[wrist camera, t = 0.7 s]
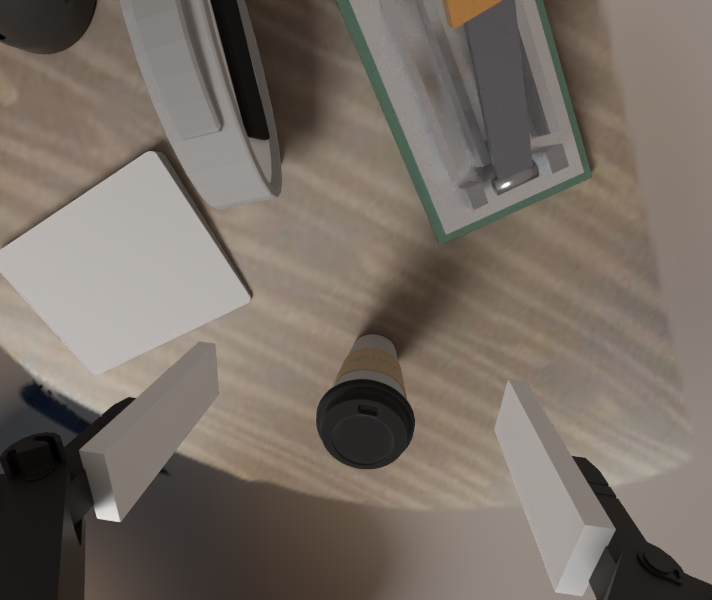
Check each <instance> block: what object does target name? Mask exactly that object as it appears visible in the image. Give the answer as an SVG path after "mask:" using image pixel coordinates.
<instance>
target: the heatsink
mask: <svg viewBox="0 0 712 600" xmlns="http://www.w3.org/2000/svg"><path fill="white" fill-rule="evenodd" d="M336 2H337V4H338V6H339V9H340V11H341V14H342V16H343V18H344V21H345V23H346V25H347V28H348V30H349V32H350V35H351V37H352V39H353V42H354V44H355V47H356V49H357V51H358V54H359V56H360V58H361V61H362V63H363V65H364V68H365V70H366V73H367V75H368V77H369V80H370V82H371V84H372V87H373V89H374V91H375V94H376V96H377V98H378V101H379V103H380V106H381V108H382V110H383V113H384V115H385V117H386V120H387V122H388V124H389V127H390V129H391V131H392V134H393V136H394V139H395V141H396V143H397V146H398V148H399V150H400V153H401V155H402V157H403V160H404V162H405V164H406V167H407V169H408V172H409V174H410V176H411V179H412V181H413V183H414V186H415V188H416V190H417V193H418V195H419V197H420V200H421V202H422V205H423V207H424V209H425V212H426V214H427V216H428V219H429V221H430V223H431V226H432V228H433V230H434V233H435V235H436V238H437V240H438V242H439V244H440V245H441V244H444V243H446V242H448V241H450V240H453V239H455V238H457V237H459V236H462V235H464V234H466V233H468V232H471V231H473V230H475V229H477V228H480V227H482V226H484V225H486V224H488V223H491V222H493V221H495V220H497V219H500V218H502V217H504V216H506V215H509V214H511V213H513V212H515V211H518V210H520V209H522V208H524V207H527V206H529V205H531V204H533V203H536V202H538V201H540V200H542V199H545V198H547V197H549V196H551V195H554V194H556V193H558V192H560V191H563V190H565V189H567V188H569V187H572V186H574V185H576V184H578V183H580V182H583V181H585V180H587V179H589V178H592V174H591V170H590V167H589V163H588V160H587V156H586V152H585V149H584V145H583V142H582V138H581V135H580V131H579V127H578V124H577V120H576V117H575V113H574V110H573V106H572V102H571V99H570V95H569V92H568V88H567V85H566V81H565V77H564V74H563V70H562V67H561V63H560V60H559V56H558V52H557V49H556V45H555V42H554V38H553V35H552V31H551V27H550V24H549V20H548V17H547V13H546V9H545V6H544V2H543V0H515V4H516V14H517V23H518V32H519V41H520V51H521V60H522V69H523V78H524V88H525V97H526V106H527V115H528V125H529V134H530V143H531V152H532V160H534V161H535V162H536V164H537V166H538V169H539V177H537V178H535V179H533V180H531V181H529V182H527V183H524V184H522V185H520V186H518V187H516V188H514V189H511V190H509V191H507V192H505V193H503V194H501V195H498V196H497V195H496V194H495V192H494V190H493V188H492V185H491V179H493V178H495V176H494V171H493V166H492V162H491V157H490V152H489V147H488V142H487V137H486V132H485V127H484V122H483V117H482V113H481V108H480V103H479V98H478V93H477V88H476V83H475V78H474V73H473V69H472V64H471V59H470V54H469V49H468V44H467V39H466V34H465V29H464V24H462V25H460V26H459V27H457V28H455V29H452V28H451V27H449V26H448V24H447V20H446V16H445V11H444V7H443V3H442V0H336Z"/></svg>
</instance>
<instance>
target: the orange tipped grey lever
mask: <svg viewBox="0 0 712 600" xmlns="http://www.w3.org/2000/svg"><path fill="white" fill-rule="evenodd" d="M442 3H443V7H444V11H445V16H446V20H447V24H448V26H449V27H451V28H452V29H455V28H457V27H459V26H460V25H462V24H464V29H465V34H466V39H467V44H468V49H469V54H470V59H471V64H472V69H473V73H474V78H475V83H476V88H477V93H478V98H479V103H480V108H481V113H482V117H483V122H484V127H485V132H486V137H487V142H488V147H489V152H490V157H491V162H492V166H493V171H494V176H495V178H493V179H491V185H492V188H493V190H494V192H495V194H496V195H497V196H498V195H501V194H503V193H505V192H507V191H509V190H511V189H514V188H516V187H518V186H520V185H522V184H524V183H527V182H529V181H531V180H533V179H535V178H537V177H539V169H538V166H537V164H536V162H535V161H534V160H532V152H531V143H530V134H529V125H528V115H527V106H526V97H525V88H524V78H523V69H522V60H521V51H520V41H519V32H518V23H517V14H516V4H515V0H442Z"/></svg>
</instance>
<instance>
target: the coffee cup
mask: <svg viewBox="0 0 712 600" xmlns="http://www.w3.org/2000/svg"><path fill="white" fill-rule="evenodd" d="M316 425H317V430H318V433H319V436H320V438H321V440H322V442H323V444H324V446H325V448H326V449H327V451H328V452H329V453H330V454H331V455H332V456H333V457H334V458H335V459H337V460H338V461H340V462H341V463H343V464H345V465H348V466H350V467H354V468H358V469H376V468H381V467H384V466H386V465H389V464H390V463H392V462H394V461H395V460H396V459H397V458H398V457H399V456H400V455H401V454H402V453H403V452H404V451H405V449H406V448H407V447H408V445H409V444H410V442H411V440H412V437H413V432H414V427H415V418H414V413H413V410H412V408H411V406H410V404H409V403H408V401H407V398H406V392H405V387H404V382H403V377H402V372H401V368H400V365H399V363H398V359H397V354H396V350H395V347H394V345H393V343H392V342H391V341H390V340H389V339H387V338H385V337H383V336H380V335H374V334H370V335H365V336H362V337H360V338H359V339H358V340H357V341H356V342H355V343H354V345H353V347H352V349H351V351H350V353H349V355H348V356H347V358H346V359H345V360H344V363H343V365H342V367H341V369H340V371H339V373H338V375H337V377H336V379H335V381H334V383H333V385H332V388H331V389H330V390H329V391H328V392H327V393H326V394H325V395H324V396H323V397H322V399H321V401H320V403H319V405H318V408H317V418H316Z"/></svg>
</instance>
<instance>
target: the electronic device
mask: <svg viewBox="0 0 712 600" xmlns="http://www.w3.org/2000/svg"><path fill="white" fill-rule="evenodd" d="M0 273H1V274H2V275H3V276H4V277H5V278H6V279H7V280H8V282H9V283H10V284H11V285H12V286H13V287H14V288H15V289H16V290H17V292H18V293H19V294H20V295H21V296H22V297H23V298H24V299H25V300H26V302H27V303H28V304H29V305H30V306H31V307H32V308H33V309H34V310H35V312H36V313H37V314H38V315H39V316H40V317H41V318H42V319H43V321H44V322H45V323H46V324H47V325H48V326H49V327H50V328H51V329H52V331H53V332H54V333H55V334H56V335H57V336H58V337H59V338H60V339H61V341H62V342H63V343H64V344H65V345H66V346H67V347H68V348H69V349H70V351H71V352H72V353H73V354H74V355H75V356H76V357H77V358H78V359H79V361H80V362H81V363H82V364H83V365H84V366H85V367H86V368H87V369H88V371H89V372H90V373H91V374H93V375H99V374H101V373H103V372H105V371H107V370H109V369H111V368H113V367H115V366H118V365H120V364H122V363H124V362H126V361H128V360H130V359H132V358H134V357H136V356H139V355H141V354H143V353H145V352H147V351H149V350H151V349H153V348H155V347H157V346H159V345H162V344H164V343H166V342H168V341H170V340H172V339H174V338H176V337H178V336H180V335H182V334H185V333H187V332H189V331H191V330H193V329H195V328H197V327H199V326H201V325H203V324H206V323H208V322H210V321H212V320H214V319H216V318H218V317H220V316H222V315H224V314H226V313H229V312H231V311H233V310H235V309H237V308H239V307H241V306H243V305H245V304H247V303H249V302H250V301H251V299H252V295H251V294H250V292H249V290H248V289H247V287H246V286H245V284H244V282H243V281H242V279H241V277H240V276H239V274H238V273H237V271H236V269H235V268H234V266H233V264H232V263H231V261H230V260H229V258H228V256H227V255H226V253H225V251H224V250H223V248H222V247H221V245H220V243H219V242H218V240H217V238H216V237H215V235H214V234H213V232H212V230H211V229H210V227H209V225H208V224H207V222H206V221H205V219H204V217H203V216H202V214H201V212H200V211H199V209H198V208H197V206H196V204H195V203H194V201H193V199H192V198H191V196H190V195H189V193H188V191H187V190H186V188H185V186H184V185H183V183H182V182H181V180H180V178H179V177H178V175H177V173H176V172H175V170H174V169H173V167H172V165H171V164H170V162H169V160H168V159H167V157H166V156H165V154H164V153H163V152H157V151H148V152H146V153H144V154H143V155H141V156H140V157H138V158H137V159H135V160H134V161H132V162H131V163H129V164H128V165H126V166H125V167H123V168H122V169H120V170H119V171H117V172H116V173H114V174H113V175H111V176H110V177H108V178H107V179H105V180H104V181H102V182H101V183H99V184H98V185H96V186H95V187H93V188H92V189H90V190H89V191H87V192H86V193H84V194H83V195H81V196H80V197H78V198H77V199H75V200H74V201H72V202H71V203H69V204H68V205H66V206H65V207H63V208H62V209H60V210H59V211H57V212H56V213H54V214H53V215H51V216H50V217H48V218H47V219H45V220H44V221H42V222H41V223H39V224H38V225H36V226H35V227H33V228H32V229H30V230H29V231H27V232H26V233H24V234H23V235H21V236H20V237H18V238H17V239H15V240H14V241H12V242H11V243H9V244H8V245H6V246H5V247H3V248H2V249H0Z"/></svg>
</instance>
